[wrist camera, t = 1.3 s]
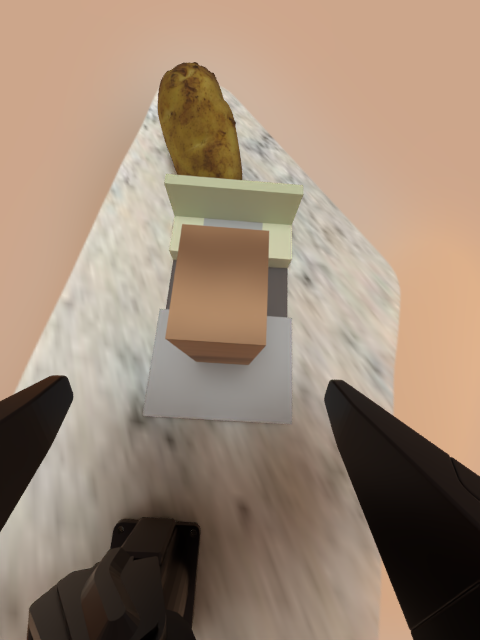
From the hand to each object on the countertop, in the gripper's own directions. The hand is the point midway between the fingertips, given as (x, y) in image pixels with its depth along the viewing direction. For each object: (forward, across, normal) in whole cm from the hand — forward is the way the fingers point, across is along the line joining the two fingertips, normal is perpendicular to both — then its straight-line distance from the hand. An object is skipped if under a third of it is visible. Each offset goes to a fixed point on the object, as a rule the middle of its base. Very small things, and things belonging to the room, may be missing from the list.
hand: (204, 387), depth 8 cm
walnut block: (+12, -1, +4) cm, 13 cm away
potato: (+27, +2, -8) cm, 28 cm away
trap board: (+15, -1, +4) cm, 16 cm away
